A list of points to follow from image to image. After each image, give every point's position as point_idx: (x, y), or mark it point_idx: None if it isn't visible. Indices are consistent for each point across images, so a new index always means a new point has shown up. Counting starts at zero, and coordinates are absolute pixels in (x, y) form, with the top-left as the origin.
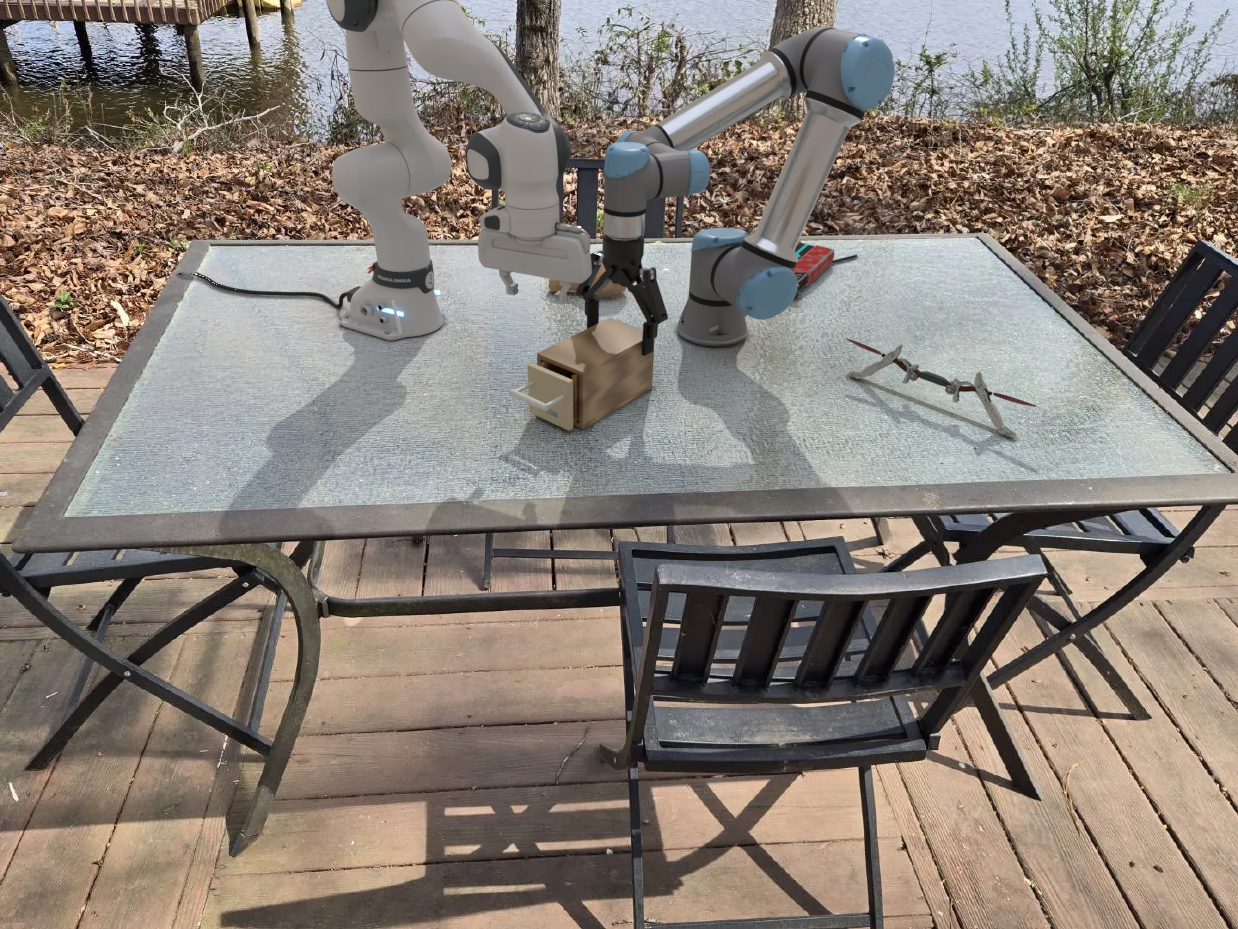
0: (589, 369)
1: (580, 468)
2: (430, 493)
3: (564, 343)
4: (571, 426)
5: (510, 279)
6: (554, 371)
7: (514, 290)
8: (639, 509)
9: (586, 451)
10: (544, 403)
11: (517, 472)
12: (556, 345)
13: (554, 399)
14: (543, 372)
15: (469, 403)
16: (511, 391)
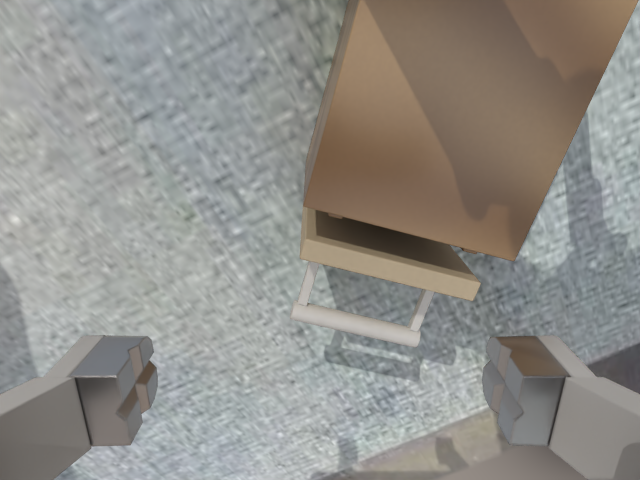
0: (528, 229)
1: (489, 327)
2: (278, 476)
3: (364, 78)
4: None
5: (43, 424)
6: None
7: (137, 390)
8: (624, 386)
9: (482, 272)
10: (410, 339)
11: (381, 382)
12: (341, 110)
13: (422, 303)
14: (370, 275)
15: (137, 209)
16: (296, 320)
